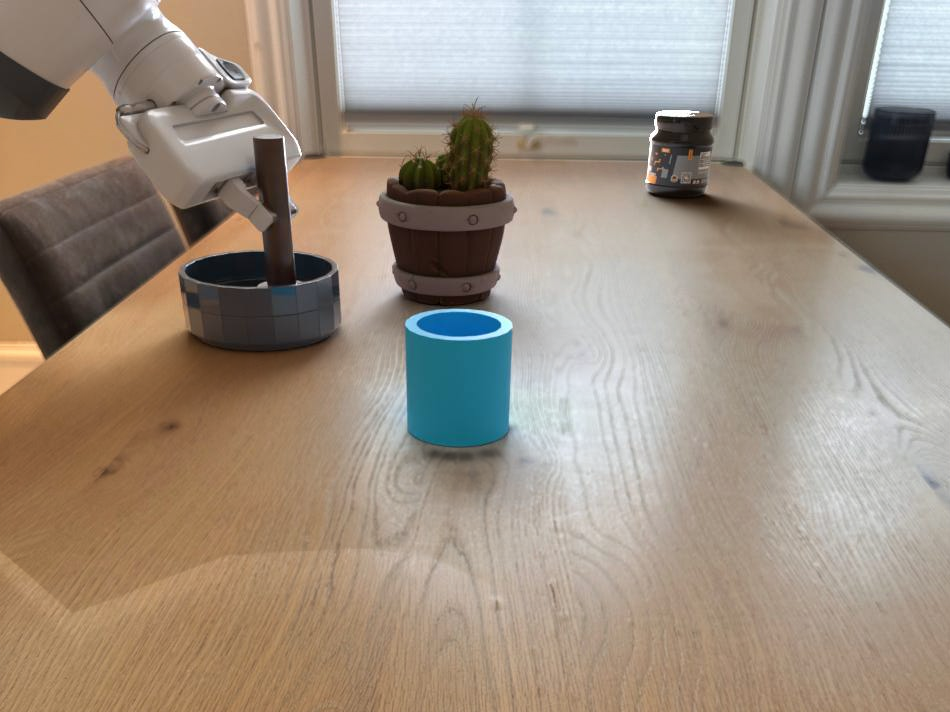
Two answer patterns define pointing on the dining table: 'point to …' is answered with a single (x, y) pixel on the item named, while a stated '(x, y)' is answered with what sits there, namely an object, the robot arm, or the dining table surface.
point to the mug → (458, 376)
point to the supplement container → (680, 154)
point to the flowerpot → (449, 217)
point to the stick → (275, 209)
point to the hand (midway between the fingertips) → (281, 221)
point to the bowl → (259, 301)
